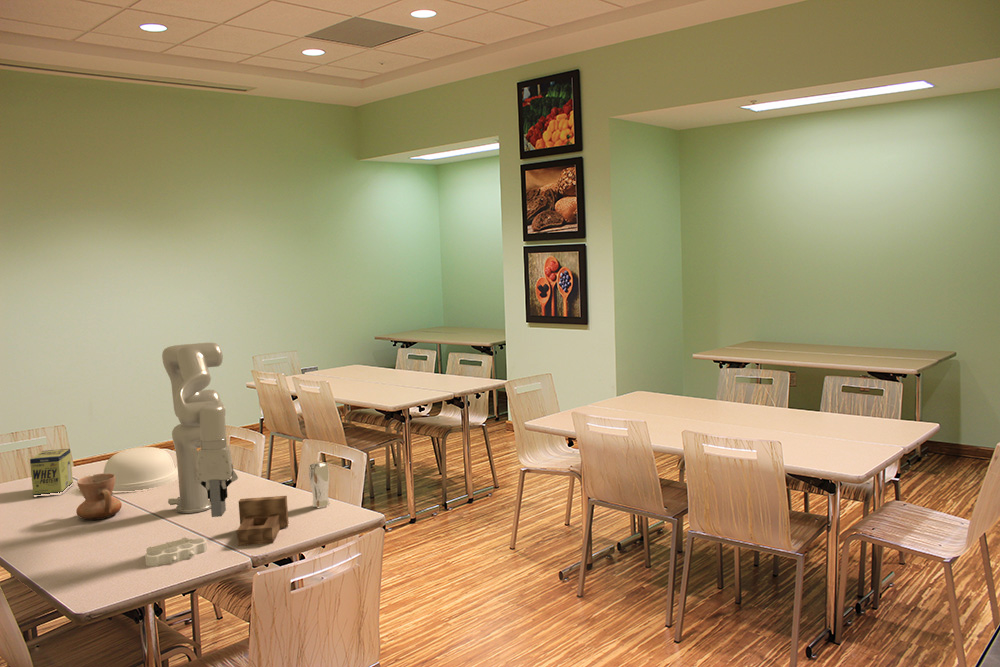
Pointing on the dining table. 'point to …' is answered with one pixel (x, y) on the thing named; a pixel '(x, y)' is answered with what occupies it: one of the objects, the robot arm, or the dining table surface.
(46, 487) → the protein box
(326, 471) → the beer glass
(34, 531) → the dining table surface
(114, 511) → the ceramic jug
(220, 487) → the grey rectangular block
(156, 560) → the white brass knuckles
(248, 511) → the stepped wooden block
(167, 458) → the dome cover
